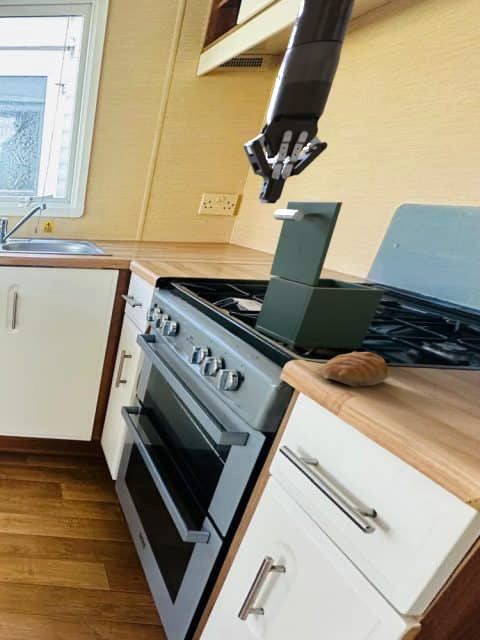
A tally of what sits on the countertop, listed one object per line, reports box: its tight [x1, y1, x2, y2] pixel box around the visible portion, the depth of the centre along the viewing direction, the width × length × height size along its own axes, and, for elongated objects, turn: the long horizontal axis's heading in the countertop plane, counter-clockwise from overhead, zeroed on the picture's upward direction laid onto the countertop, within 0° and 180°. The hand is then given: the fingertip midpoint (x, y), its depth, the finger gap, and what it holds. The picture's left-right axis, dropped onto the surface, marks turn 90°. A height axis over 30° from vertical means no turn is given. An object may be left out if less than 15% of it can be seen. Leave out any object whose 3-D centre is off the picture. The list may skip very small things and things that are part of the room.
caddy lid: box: [269, 200, 343, 286], centre depth 76 cm, size 13×12×5 cm
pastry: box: [322, 350, 391, 388], centre depth 63 cm, size 9×7×4 cm
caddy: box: [254, 276, 386, 350], centre depth 81 cm, size 13×12×11 cm
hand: (268, 203), depth 73 cm, fingers closed
